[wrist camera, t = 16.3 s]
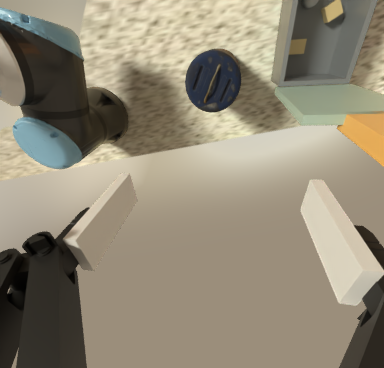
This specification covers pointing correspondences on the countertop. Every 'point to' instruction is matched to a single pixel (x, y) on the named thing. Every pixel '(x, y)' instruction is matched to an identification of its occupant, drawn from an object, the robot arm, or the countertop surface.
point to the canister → (213, 80)
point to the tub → (320, 41)
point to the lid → (340, 112)
